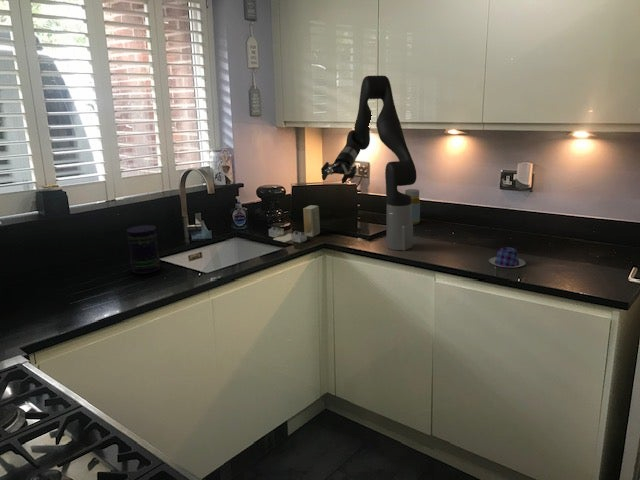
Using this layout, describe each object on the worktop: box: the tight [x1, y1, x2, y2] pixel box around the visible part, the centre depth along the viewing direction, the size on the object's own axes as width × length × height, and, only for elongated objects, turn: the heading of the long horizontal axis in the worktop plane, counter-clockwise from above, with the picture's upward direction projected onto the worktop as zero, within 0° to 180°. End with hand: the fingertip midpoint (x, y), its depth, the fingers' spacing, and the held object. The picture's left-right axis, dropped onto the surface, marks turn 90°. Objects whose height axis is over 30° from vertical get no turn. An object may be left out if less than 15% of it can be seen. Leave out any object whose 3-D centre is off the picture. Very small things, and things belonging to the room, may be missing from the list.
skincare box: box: [302, 204, 321, 238], centre depth 232 cm, size 6×4×12 cm
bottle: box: [404, 188, 421, 226], centre depth 245 cm, size 7×7×15 cm
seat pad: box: [272, 233, 292, 243], centre depth 229 cm, size 7×10×1 cm
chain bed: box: [268, 226, 308, 244], centre depth 229 cm, size 18×4×4 cm, turn 50°
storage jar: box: [126, 224, 161, 274], centre depth 194 cm, size 10×10×15 cm
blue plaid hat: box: [488, 246, 526, 268], centre depth 189 cm, size 12×12×5 cm
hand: (332, 180), depth 226 cm, fingers open, 8 cm apart
